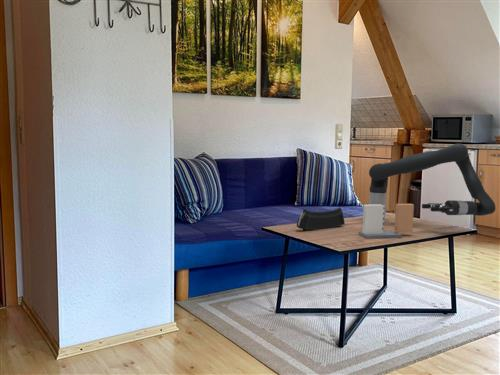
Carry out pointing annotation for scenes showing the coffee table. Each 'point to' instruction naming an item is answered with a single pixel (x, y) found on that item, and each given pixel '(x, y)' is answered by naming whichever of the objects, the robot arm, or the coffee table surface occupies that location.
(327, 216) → the magazine
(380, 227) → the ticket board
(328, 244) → the coffee table surface
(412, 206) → the brown rectangular block
